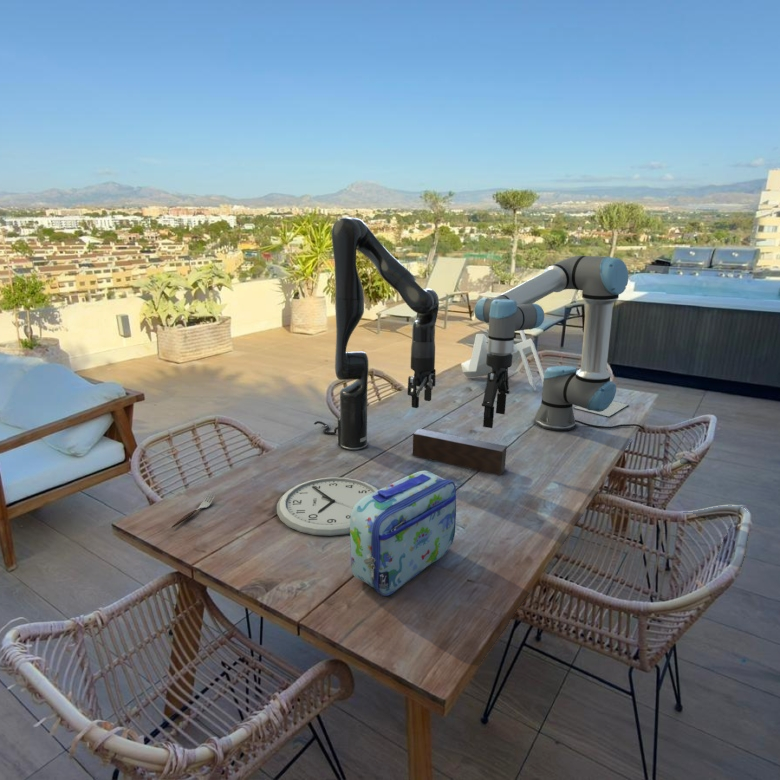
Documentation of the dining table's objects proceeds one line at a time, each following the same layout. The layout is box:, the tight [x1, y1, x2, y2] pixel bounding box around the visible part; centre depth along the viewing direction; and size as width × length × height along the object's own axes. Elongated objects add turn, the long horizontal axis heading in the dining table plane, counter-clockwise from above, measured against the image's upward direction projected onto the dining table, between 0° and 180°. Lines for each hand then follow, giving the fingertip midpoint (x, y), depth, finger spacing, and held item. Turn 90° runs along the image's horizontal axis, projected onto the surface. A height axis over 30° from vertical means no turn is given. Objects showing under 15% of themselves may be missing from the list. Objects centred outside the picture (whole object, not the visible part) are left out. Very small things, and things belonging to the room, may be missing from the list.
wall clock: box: [276, 476, 380, 537], centre depth 142 cm, size 30×2×30 cm
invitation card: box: [573, 400, 629, 418], centre depth 226 cm, size 21×1×15 cm
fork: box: [171, 493, 217, 529], centre depth 137 cm, size 3×16×2 cm, turn 160°
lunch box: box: [349, 470, 457, 597], centre depth 114 cm, size 26×11×21 cm, turn 134°
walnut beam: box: [412, 428, 507, 476], centre depth 169 cm, size 30×5×8 cm, turn 63°
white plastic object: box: [460, 330, 545, 391], centre depth 258 cm, size 37×45×31 cm
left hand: (421, 404), depth 167 cm, fingers open, 8 cm apart
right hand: (494, 420), depth 161 cm, fingers open, 13 cm apart
